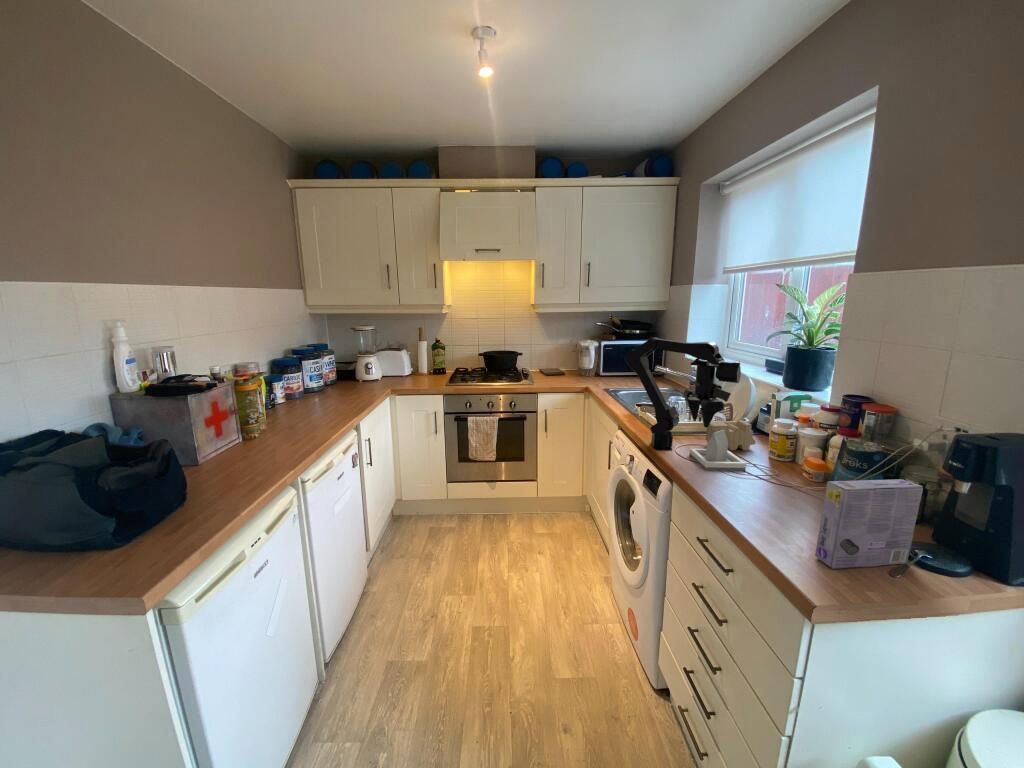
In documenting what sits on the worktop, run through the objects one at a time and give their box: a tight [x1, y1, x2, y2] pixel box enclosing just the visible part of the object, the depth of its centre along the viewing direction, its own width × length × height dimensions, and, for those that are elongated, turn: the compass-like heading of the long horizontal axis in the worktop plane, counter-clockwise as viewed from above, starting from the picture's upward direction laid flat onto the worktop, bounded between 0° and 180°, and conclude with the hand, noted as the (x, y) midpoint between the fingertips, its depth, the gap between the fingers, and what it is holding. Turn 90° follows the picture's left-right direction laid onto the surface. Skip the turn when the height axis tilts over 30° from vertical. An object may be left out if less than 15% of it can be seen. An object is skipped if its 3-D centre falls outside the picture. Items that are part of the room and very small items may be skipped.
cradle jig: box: [688, 448, 747, 472], centre depth 138 cm, size 13×13×2 cm
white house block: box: [705, 430, 729, 462], centre depth 138 cm, size 4×7×10 cm, turn 126°
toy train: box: [705, 419, 757, 451], centre depth 151 cm, size 6×17×10 cm, turn 95°
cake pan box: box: [814, 478, 924, 570], centre depth 85 cm, size 19×5×18 cm, turn 97°
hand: (700, 423), depth 142 cm, fingers open, 9 cm apart
